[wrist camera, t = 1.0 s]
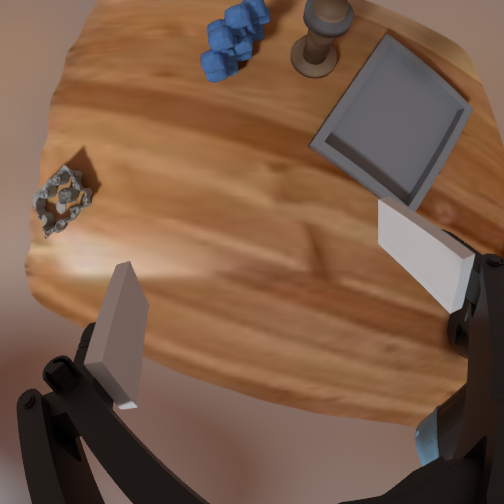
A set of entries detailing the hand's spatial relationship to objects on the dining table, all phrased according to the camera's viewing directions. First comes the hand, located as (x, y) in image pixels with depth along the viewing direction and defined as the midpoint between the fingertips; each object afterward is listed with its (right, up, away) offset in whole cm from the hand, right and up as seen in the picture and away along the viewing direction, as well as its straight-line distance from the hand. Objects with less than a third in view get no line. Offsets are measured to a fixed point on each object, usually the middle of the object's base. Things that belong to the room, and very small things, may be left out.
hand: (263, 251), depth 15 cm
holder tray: (+19, +17, +20) cm, 33 cm away
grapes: (-3, +26, +20) cm, 33 cm away
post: (+7, +26, +19) cm, 33 cm away
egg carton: (-30, +8, +27) cm, 41 cm away
